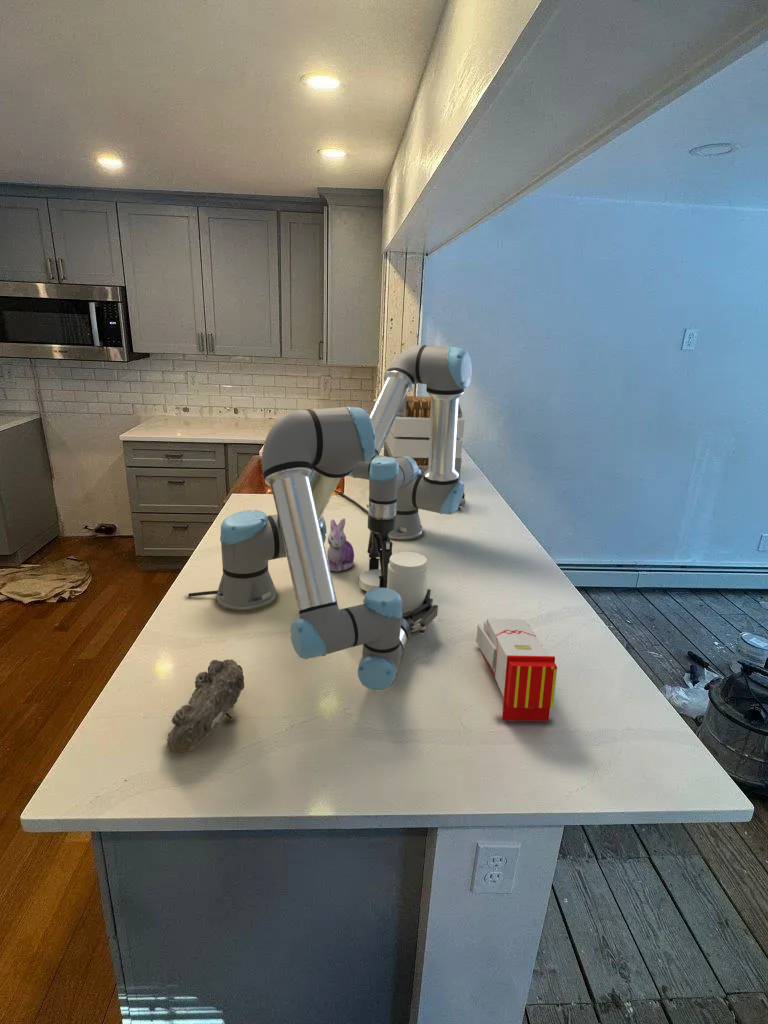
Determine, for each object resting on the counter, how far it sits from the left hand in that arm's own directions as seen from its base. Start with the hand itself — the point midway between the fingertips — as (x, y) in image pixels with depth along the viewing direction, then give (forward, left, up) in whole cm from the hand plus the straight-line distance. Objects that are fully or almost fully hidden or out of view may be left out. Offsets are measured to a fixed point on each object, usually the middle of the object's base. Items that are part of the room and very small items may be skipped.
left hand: (408, 591), depth 146 cm
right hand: (-10, +11, -6) cm, 17 cm away
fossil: (-29, -49, -7) cm, 57 cm away
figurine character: (+3, +90, -7) cm, 90 cm away
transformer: (-19, +134, -7) cm, 136 cm away
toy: (+26, -21, -7) cm, 34 cm away
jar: (0, -4, -7) cm, 8 cm away
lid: (-10, +11, -3) cm, 16 cm away
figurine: (-25, +22, -7) cm, 34 cm away
